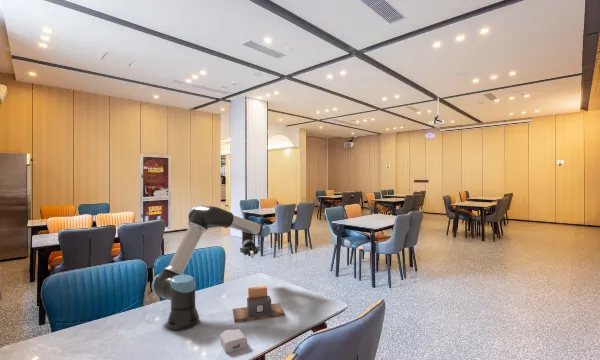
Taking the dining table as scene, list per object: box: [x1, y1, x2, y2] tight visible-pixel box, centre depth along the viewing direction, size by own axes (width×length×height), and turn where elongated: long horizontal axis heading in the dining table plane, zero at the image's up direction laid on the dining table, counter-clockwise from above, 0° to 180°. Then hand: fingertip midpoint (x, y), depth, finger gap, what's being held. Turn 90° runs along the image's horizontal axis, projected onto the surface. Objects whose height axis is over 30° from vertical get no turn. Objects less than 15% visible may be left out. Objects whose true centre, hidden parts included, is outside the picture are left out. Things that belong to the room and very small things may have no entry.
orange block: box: [247, 285, 268, 312], centre depth 164 cm, size 10×9×12 cm
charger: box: [219, 328, 248, 353], centre depth 137 cm, size 5×9×15 cm
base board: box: [232, 302, 285, 324], centre depth 166 cm, size 26×14×2 cm, turn 106°
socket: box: [246, 295, 272, 318], centre depth 163 cm, size 12×6×8 cm, turn 106°
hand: (252, 255), depth 182 cm, fingers closed
